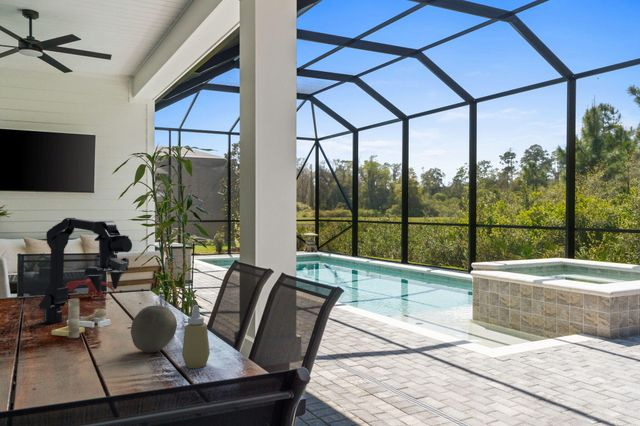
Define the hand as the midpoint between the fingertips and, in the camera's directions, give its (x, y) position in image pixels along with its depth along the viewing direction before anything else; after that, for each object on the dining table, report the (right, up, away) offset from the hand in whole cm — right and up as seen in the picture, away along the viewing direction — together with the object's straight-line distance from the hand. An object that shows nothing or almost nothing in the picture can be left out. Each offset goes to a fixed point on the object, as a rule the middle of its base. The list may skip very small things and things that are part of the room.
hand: (107, 290), depth 207 cm
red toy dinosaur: (-39, -15, +75) cm, 86 cm away
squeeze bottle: (+49, -14, -55) cm, 75 cm away
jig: (-11, -15, -3) cm, 19 cm away
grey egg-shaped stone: (+31, -15, -38) cm, 52 cm away
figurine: (-10, -15, +5) cm, 18 cm away
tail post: (-5, -15, -18) cm, 23 cm away
